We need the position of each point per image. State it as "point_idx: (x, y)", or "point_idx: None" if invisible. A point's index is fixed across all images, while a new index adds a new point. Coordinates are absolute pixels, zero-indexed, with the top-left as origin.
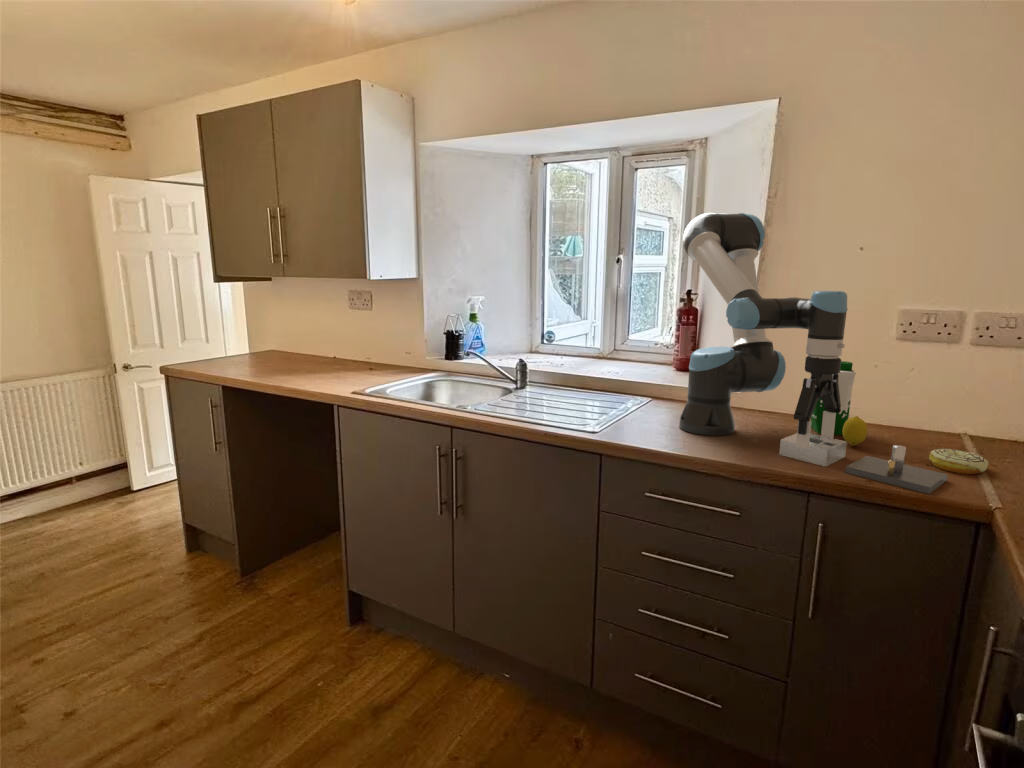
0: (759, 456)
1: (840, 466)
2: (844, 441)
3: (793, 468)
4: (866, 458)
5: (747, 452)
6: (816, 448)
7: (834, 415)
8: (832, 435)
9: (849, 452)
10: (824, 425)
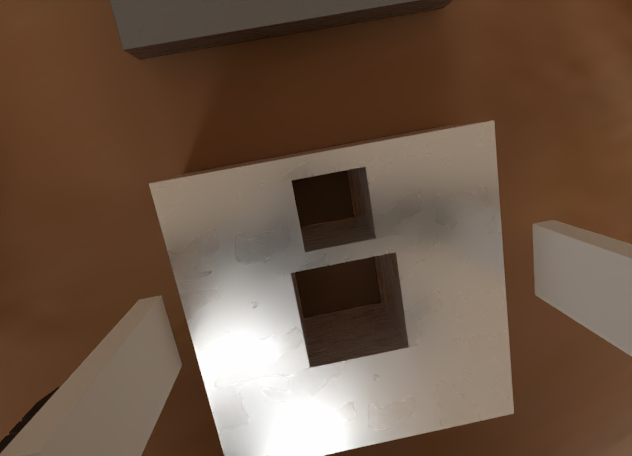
0: (563, 379)
1: (363, 88)
2: (165, 194)
3: (599, 193)
4: (186, 14)
5: (554, 439)
6: (496, 195)
7: (59, 427)
8: (151, 305)
9: (68, 215)
10: (146, 410)
